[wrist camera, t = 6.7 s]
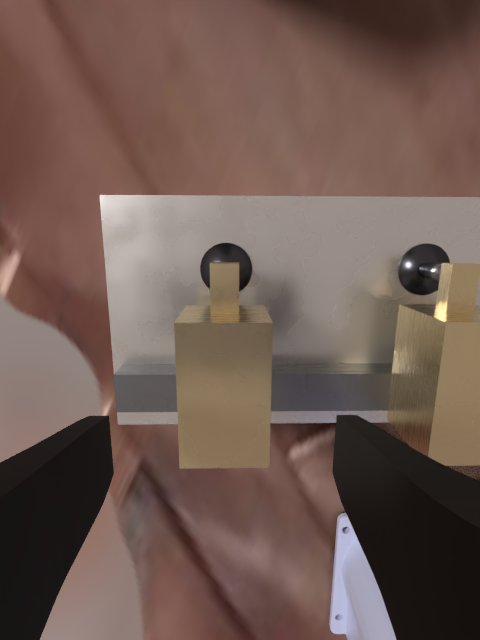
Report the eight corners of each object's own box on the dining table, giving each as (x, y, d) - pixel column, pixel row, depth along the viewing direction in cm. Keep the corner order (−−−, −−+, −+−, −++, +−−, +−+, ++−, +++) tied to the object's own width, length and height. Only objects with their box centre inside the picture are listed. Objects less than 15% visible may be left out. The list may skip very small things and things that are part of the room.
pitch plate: (459, 409, 21) (561, 485, 15) (126, 411, 21) (76, 491, 14) (491, 200, 19) (633, 179, 12) (110, 198, 18) (40, 175, 12)
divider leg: (260, 410, 19) (269, 467, 14) (193, 410, 19) (179, 468, 14) (262, 259, 17) (274, 267, 12) (188, 259, 17) (171, 267, 12)
